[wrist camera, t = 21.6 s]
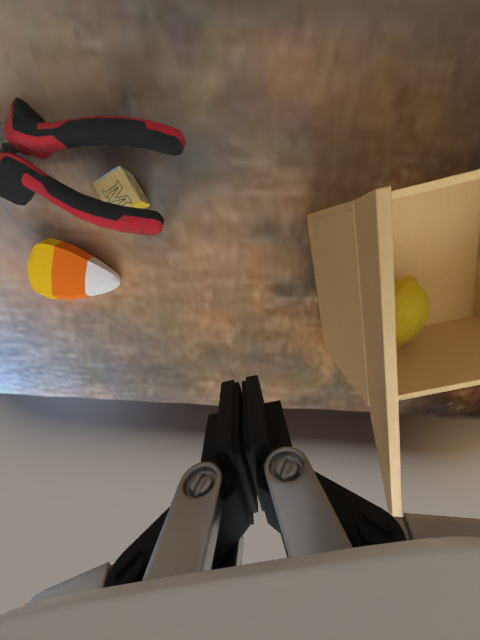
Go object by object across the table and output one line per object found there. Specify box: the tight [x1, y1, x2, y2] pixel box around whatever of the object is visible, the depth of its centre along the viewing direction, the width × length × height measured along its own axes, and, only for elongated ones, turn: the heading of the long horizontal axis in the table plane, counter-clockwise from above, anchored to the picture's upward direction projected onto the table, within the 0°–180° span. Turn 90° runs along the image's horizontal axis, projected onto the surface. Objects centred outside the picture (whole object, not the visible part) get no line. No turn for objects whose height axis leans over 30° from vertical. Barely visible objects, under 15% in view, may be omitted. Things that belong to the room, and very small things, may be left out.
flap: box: [354, 186, 402, 517], centre depth 13 cm, size 8×15×1 cm
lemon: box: [394, 276, 430, 347], centre depth 25 cm, size 6×6×8 cm
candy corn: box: [27, 238, 121, 299], centre depth 25 cm, size 6×3×8 cm
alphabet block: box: [91, 166, 150, 209], centre depth 22 cm, size 3×3×3 cm
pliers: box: [0, 98, 185, 235], centre depth 20 cm, size 3×9×22 cm
